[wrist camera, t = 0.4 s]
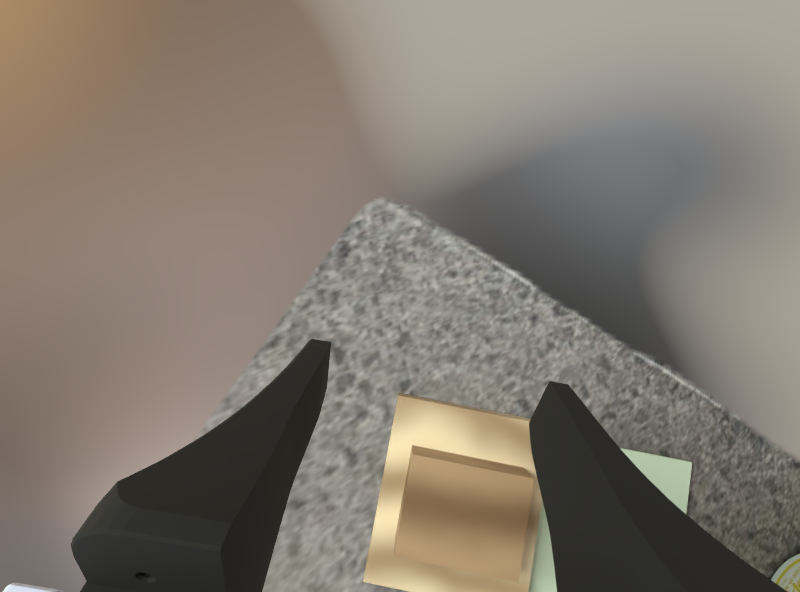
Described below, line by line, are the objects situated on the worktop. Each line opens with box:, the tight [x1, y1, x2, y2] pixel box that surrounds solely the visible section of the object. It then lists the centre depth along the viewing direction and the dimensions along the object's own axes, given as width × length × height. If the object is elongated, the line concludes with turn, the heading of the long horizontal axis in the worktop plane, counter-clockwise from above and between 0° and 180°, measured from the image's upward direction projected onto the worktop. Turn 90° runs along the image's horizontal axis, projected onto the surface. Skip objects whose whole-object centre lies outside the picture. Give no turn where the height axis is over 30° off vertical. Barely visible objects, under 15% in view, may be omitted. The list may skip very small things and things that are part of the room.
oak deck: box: [363, 393, 542, 592], centre depth 38 cm, size 16×14×2 cm
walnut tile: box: [394, 445, 534, 582], centre depth 35 cm, size 8×10×3 cm
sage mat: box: [528, 448, 692, 592], centre depth 38 cm, size 14×13×1 cm
